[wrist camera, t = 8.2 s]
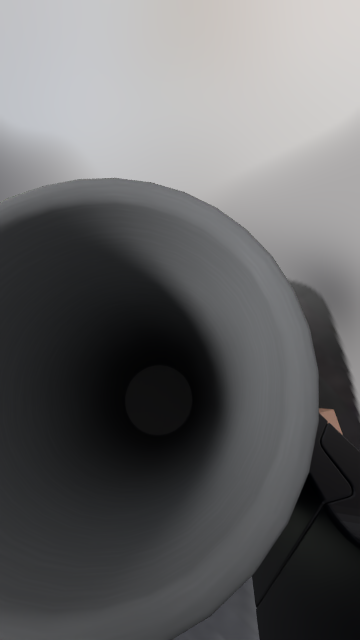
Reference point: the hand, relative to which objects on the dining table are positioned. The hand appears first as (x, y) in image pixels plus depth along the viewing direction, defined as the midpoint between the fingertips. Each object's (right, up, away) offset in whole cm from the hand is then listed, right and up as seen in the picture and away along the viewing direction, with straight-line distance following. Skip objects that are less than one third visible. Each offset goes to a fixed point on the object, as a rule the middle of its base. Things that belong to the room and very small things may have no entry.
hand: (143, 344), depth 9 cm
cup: (0, -5, +10) cm, 11 cm away
